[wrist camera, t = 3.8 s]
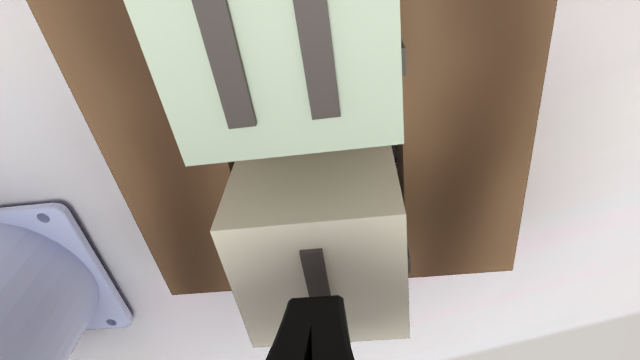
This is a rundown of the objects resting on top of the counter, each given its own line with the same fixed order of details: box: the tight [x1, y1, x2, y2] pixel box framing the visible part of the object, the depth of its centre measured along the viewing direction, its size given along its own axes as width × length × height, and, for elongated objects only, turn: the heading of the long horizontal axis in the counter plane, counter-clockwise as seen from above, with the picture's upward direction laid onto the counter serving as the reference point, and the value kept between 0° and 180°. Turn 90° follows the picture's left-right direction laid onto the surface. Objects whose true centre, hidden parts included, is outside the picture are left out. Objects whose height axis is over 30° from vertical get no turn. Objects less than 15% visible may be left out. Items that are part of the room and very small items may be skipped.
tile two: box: [123, 0, 406, 166], centre depth 10 cm, size 5×5×4 cm
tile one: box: [210, 145, 411, 347], centre depth 14 cm, size 5×5×4 cm
